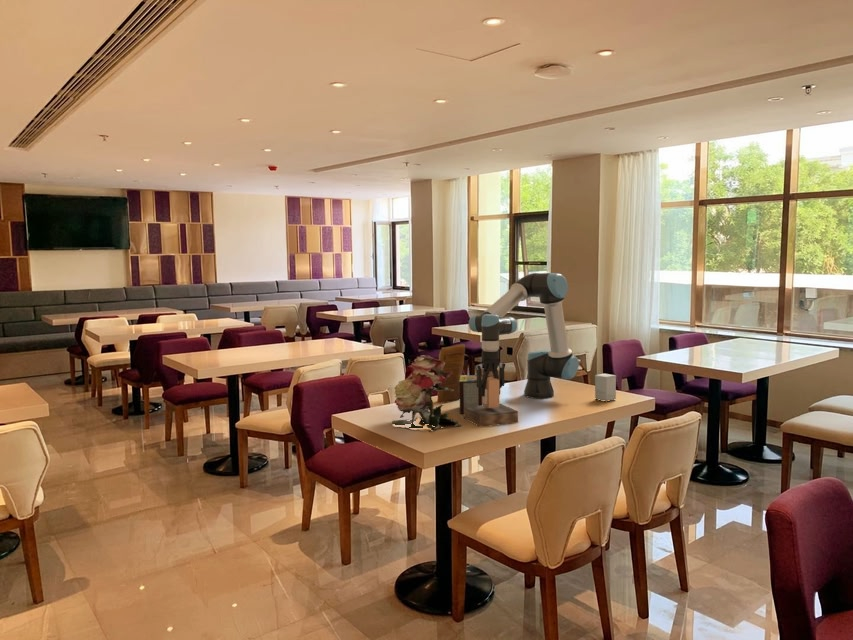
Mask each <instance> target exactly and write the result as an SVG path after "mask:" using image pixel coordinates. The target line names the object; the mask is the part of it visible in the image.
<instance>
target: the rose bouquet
mask: <svg viewBox="0 0 853 640" xmlns="http://www.w3.org/2000/svg"><path fill="white" fill-rule="evenodd" d="M413 361H414V362H412V363H411V366H412V368H413V371H412V372H411V373H410V374H409V375H408V376H407V377H406V378H404V379H403V380H400V381H398V383H397V384H396V385H395V387H394V394H395V397H394V398H395V400H394V404H395V405H396V406H397V409H398V410H399V411H400V412H402V414H400V416H399V418H401V419H398V420H392V422H391V425H392V424H395V425H405V424H411V423H412V424H411V427H409V428H423V426H415V425H414V424H413V422H414V421H416V419H415V417H416V415H417V413H418V414H419V416H420V418H421V417H422V419H423V420H422V422H424V423H423V425H424V424H429V425H433V426H435V428H434V427H432V428H433V429H431V430H434V431H435V430H437V429H438V428H439V429H442V428H441V427H444V428H445V426H442V425H440V424H439V423H446V422H447V423H448V422H449V423H451V424H452V423H454V424H453V425H454V426H455V427H458V426H460V427H462V425H461V424H460V423H459V422H458V421H456V420H454V419H451V418H449V414H450V413H448V412H445V413H442V407H444V406H445V405H443V404H441V405H438V406H435V408H434V403H433V402H434V401H433V399H432V397H433V396H434V395H435V393H433V391H436V392H438V391H443V390H449V391H454V390H453V389H451V388H447V387H440V386H442V385H445V384H443V383H444V382H445V381H446V380H447V377H449V375H451V374H452V372H446V373H445V372H444V371H443V370H442V369H443V368H444V364H445V363H444V362H443V361H440V360H439V358H438V359H437V358H434V357H433V356H430V354H429V355H424V354H423V355H420V356H416V358H415V359H414V360H413ZM466 394H467V393H466ZM405 413H408V414H410V413H411V414H412V415H411V419H412V420H410V421H407V420H408V419H402V418H404V417H405V415H404V414H405ZM422 422H421V423H422ZM459 424H460V425H459ZM439 429H438V430H439Z"/></svg>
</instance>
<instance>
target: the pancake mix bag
mask: <svg viewBox="0 0 853 640" xmlns="http://www.w3.org/2000/svg"><path fill="white" fill-rule="evenodd" d="M465 354H466V344H464V343H460V344H454V345H451V346H445V347H441V349H440V350H439V355H438V360H440V361H443V362H444V363H445V364H444V368H443V369H442V370H443V371H444V372H445V373H446V372H452V374H451V375H449V377H447V380H446V381H445V382H444V383H443V384H445V385H442V386H440V387H447V388H451V389H453V390H454V391H449V390H443V391H437V401H436V403H441V402H444V403H448V402H447V401H450V402H453V401H452V400H455V401H460V400H459V399H460V385H459V381H460V375H463V371H464V365H465Z"/></svg>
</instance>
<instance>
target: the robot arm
mask: <svg viewBox="0 0 853 640" xmlns="http://www.w3.org/2000/svg"><path fill="white" fill-rule="evenodd" d="M568 286H569V285H568V281H567V279H566V277H565V276H564V275H563V274H561V273H555V272H543V273H541V272H532V273H529V274H527V275H525V276H523V277H521V278H519V279H518V280H517V281H515V282H514V283H512V285H510V289H509V290H508V291H506V292H505V294H503V295H502V296H500V297H499V298H498V299H497V300H496V301H494V303H493V304H492V305H490V306H489V307H488V308H487V309H485V310H484V311H483V312H482V313H481V314H480V315H472V316H471V317H470V318H469V320H468V327H469V330H470V331H472V332H476V333H479V334H480V333H481V363H479V364H475V370H476V375H477V387H478V388H480V389H481V396H482V397H483V404H487V389H485V387H486V383H487V378H488V377H489V375H490V372H491V373H492V377H494V378H496V379H499V396H501V389H502V387H504V386H505V368H506V364H505V363H504V362H503V363H502V362H501V361H500V336H502V335H510V334H513V333H515V332H516V331H517V329H518V322H517V320H516V319H515V318H514V317H512V316H506V315H507V314H508V313H509V312H511V310H512V309H513V308H515V307H516V306H517V305H518V304H519V303H520V302H523V301H525V300H526V299H528V298H539V303H540V305H543V309H544V315H545V321H546V327H547V328H546V329H547V333H548V340H549V347H550V350H548V349H547V350H546V349H544V350H543V349H542V350H536V351H535V350H533V351H531V352H528V353H527V359H526V361H527V363H526V364H527V368H526V369H527V380H526V384H525V387H524V392H523V396H525V397H527V396H528V397H527V398H531V397H533V398H532V399H548V398H547V397H550V398H553V397H554V396H555V394H554V393H555V391H554V388H553V385H552V382H551V378H557V379H560V380H561V379H562V380H571V379H573V378H574V377H575V376H576V375H577V372H578V370H579V363H580V362H579V358H578V357H577V356H575V355H573V351H572V349H571V348H570V347H569V344H568V337H567V330H566V324H565V323H566V322H565V317H564V308H563V302H564V301H565V298H566V296H567V294H568V290H569V287H568ZM482 369H483V372H482ZM482 373H483V374H482ZM552 396H553V397H552Z"/></svg>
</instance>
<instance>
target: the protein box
mask: <svg viewBox="0 0 853 640" xmlns="http://www.w3.org/2000/svg"><path fill="white" fill-rule="evenodd" d="M459 385H460V400H459V415H464V407H471V406H481V405H482V396H481V389H480V388H478V387H477V374H475V375H474V374H472V375H471V374H470V375H468V374H465V375H463V374H462V375H460V381H459ZM466 393H467V394H466Z"/></svg>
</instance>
